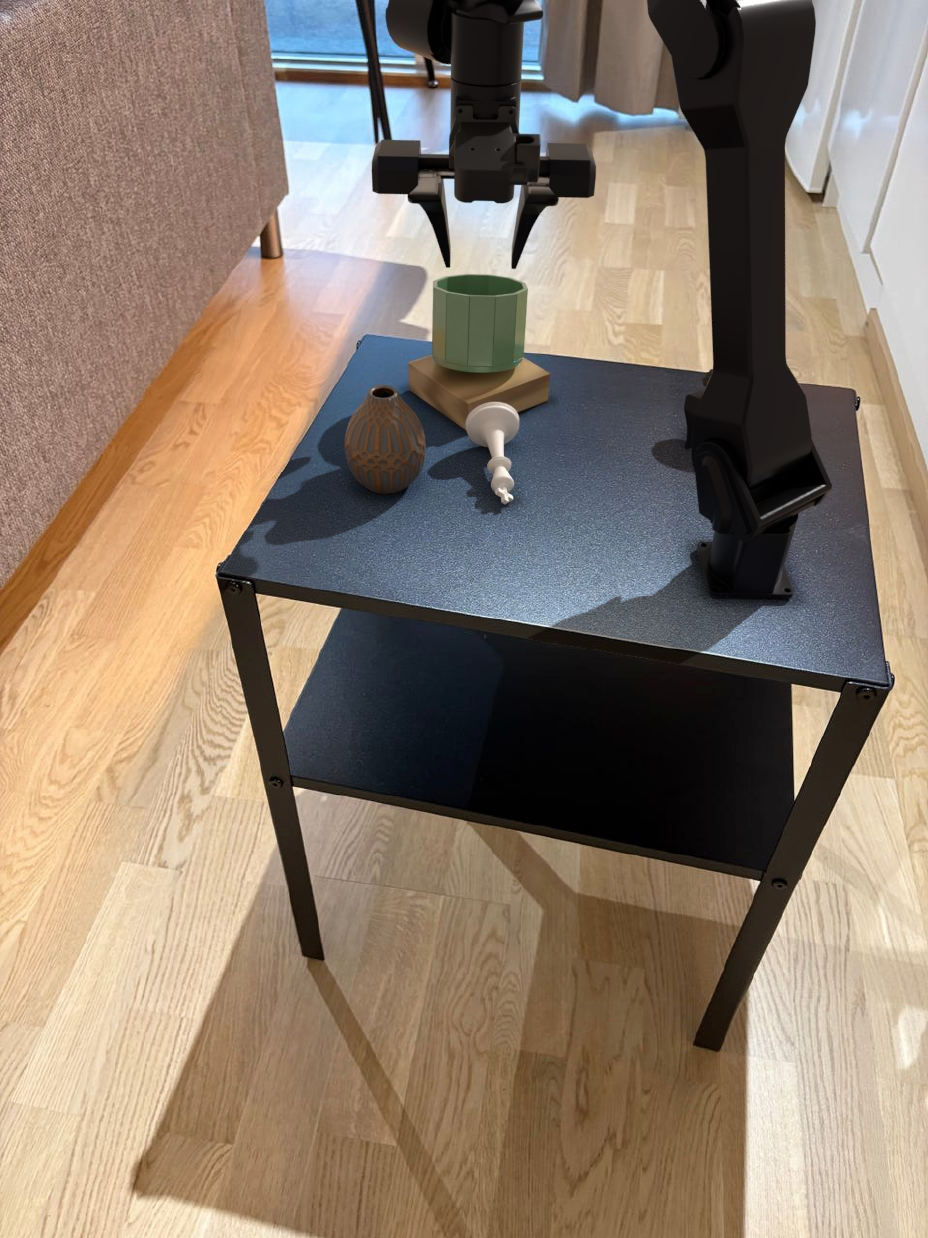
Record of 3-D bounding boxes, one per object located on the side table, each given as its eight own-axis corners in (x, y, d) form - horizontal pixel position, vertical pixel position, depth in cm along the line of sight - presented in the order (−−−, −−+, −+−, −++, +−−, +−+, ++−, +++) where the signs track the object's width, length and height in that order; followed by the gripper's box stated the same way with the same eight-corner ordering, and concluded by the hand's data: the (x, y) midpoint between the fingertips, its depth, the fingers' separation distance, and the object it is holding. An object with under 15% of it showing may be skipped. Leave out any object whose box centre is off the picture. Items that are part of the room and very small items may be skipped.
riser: (548, 400, 99) (550, 373, 97) (467, 431, 95) (468, 403, 93) (487, 362, 105) (488, 335, 103) (408, 389, 100) (407, 362, 98)
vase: (430, 462, 91) (429, 374, 85) (420, 506, 85) (419, 415, 80) (355, 457, 91) (349, 369, 85) (340, 500, 86) (333, 410, 80)
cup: (526, 373, 94) (531, 297, 90) (432, 371, 93) (433, 295, 90) (518, 346, 101) (522, 274, 98) (431, 344, 101) (432, 273, 97)
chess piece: (490, 392, 88) (503, 472, 82) (530, 418, 91) (546, 497, 85) (454, 426, 91) (464, 506, 85) (493, 450, 94) (506, 529, 88)
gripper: (361, 103, 75) (371, 303, 85) (611, 108, 75) (590, 307, 85) (373, 64, 83) (380, 251, 93) (598, 69, 83) (580, 255, 93)
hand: (480, 266), depth 91 cm, fingers open, 6 cm apart
